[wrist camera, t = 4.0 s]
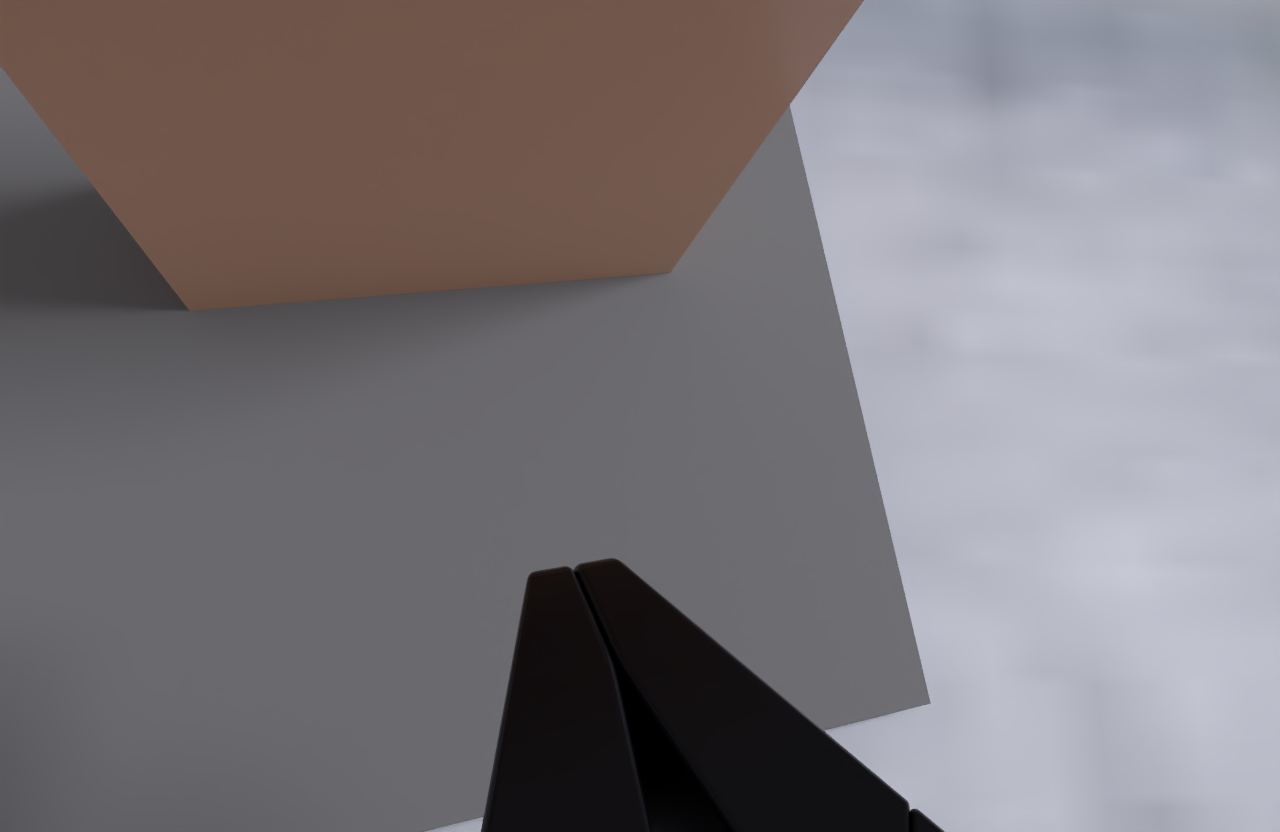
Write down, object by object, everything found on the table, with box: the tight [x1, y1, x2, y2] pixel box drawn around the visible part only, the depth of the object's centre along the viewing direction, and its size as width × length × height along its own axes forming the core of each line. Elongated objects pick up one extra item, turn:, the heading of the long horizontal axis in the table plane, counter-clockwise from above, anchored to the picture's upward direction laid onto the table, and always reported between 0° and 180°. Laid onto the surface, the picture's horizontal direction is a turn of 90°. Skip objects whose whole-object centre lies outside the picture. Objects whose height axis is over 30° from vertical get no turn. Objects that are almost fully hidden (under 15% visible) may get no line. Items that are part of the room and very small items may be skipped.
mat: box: [0, 66, 930, 832], centre depth 18 cm, size 23×18×1 cm
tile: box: [0, 0, 864, 311], centre depth 13 cm, size 10×3×10 cm, turn 100°
